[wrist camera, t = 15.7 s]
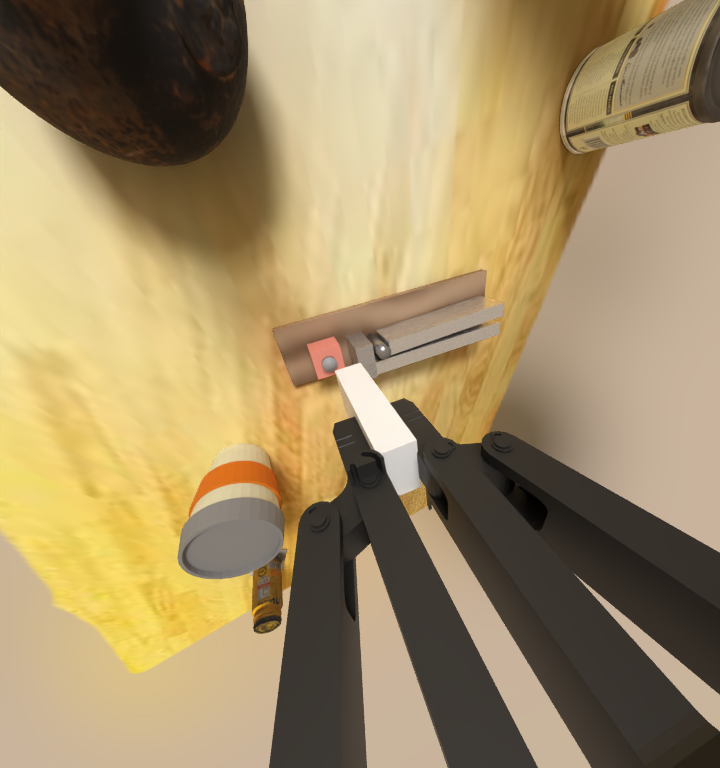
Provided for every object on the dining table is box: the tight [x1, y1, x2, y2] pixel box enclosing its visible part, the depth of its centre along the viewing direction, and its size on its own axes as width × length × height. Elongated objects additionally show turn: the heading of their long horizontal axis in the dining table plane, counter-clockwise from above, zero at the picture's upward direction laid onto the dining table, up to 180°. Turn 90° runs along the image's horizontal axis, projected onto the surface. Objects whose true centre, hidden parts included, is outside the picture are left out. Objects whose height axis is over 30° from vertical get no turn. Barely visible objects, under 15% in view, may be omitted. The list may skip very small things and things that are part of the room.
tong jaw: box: [366, 295, 504, 359], centre depth 39 cm, size 2×20×6 cm, turn 102°
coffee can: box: [560, 0, 720, 154], centre depth 29 cm, size 10×10×14 cm
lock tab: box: [307, 336, 345, 380], centre depth 37 cm, size 4×4×4 cm
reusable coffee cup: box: [178, 443, 285, 579], centre depth 39 cm, size 12×12×15 cm
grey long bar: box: [346, 319, 500, 379], centre depth 40 cm, size 5×23×5 cm, turn 101°
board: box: [273, 270, 486, 386], centre depth 41 cm, size 9×33×1 cm, turn 101°
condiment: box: [250, 549, 287, 634], centre depth 56 cm, size 7×8×12 cm
